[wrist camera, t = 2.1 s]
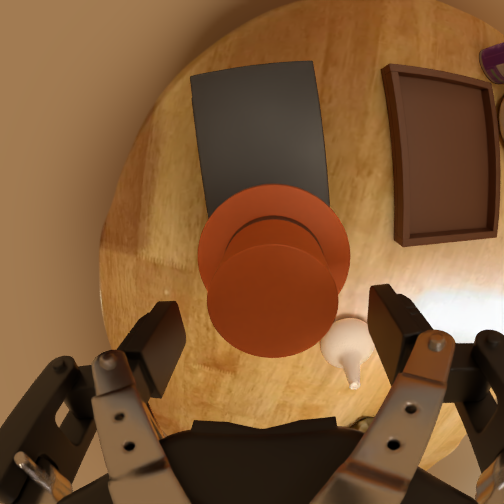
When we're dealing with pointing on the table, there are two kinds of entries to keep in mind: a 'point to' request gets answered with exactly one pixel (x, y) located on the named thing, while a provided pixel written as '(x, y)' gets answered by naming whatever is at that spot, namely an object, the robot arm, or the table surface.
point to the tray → (442, 155)
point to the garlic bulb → (348, 347)
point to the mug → (501, 119)
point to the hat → (273, 269)
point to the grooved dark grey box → (259, 130)
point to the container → (493, 62)
